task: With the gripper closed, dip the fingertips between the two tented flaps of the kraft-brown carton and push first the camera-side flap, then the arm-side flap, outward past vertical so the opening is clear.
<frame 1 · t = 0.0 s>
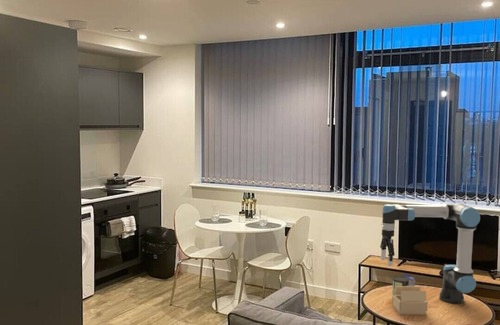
hand: (386, 262, 312), 28 cm above the table, fingers open, 13 cm apart
carton: (409, 311, 307), on the table
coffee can: (399, 300, 327), on the table
ink cartridge box: (406, 295, 335), on the table
flap near camera: (413, 301, 300), point 8 cm above the table, hinge at 70.0°
flap far: (406, 294, 312), point 8 cm above the table, hinge at 70.0°
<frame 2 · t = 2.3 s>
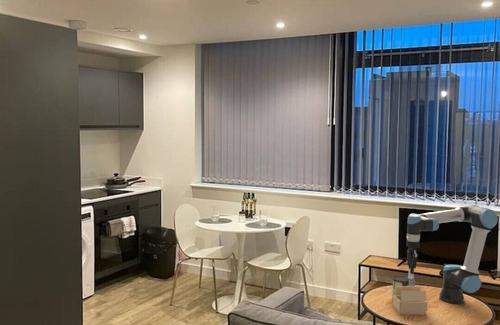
hand: (410, 278, 305), 21 cm above the table, fingers closed
nothing on the table moved.
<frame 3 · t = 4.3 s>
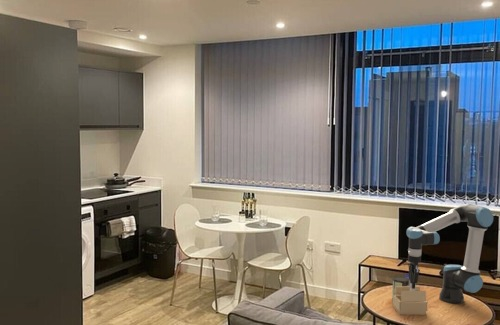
hand: (412, 293, 303), 13 cm above the table, fingers closed
flap near camera: (413, 301, 300), point 8 cm above the table, hinge at 70.7°, touching gripper
everything else where it was.
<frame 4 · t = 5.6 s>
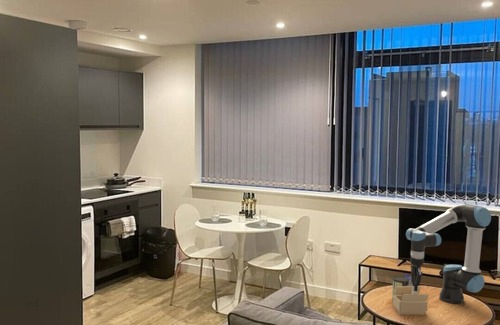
hand: (414, 295, 299), 12 cm above the table, fingers closed
flap near camera: (413, 301, 300), point 8 cm above the table, hinge at 119.4°, touching gripper
everything else where it was.
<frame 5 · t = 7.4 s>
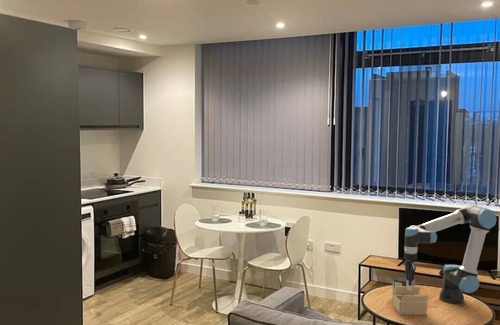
hand: (408, 290, 309), 12 cm above the table, fingers closed
flap near camera: (413, 301, 300), point 8 cm above the table, hinge at 128.3°
flap far: (406, 294, 312), point 8 cm above the table, hinge at 70.0°, touching gripper
everything else where it was.
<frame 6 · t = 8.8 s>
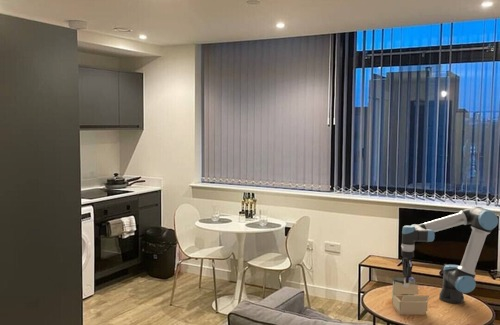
hand: (406, 287, 313), 12 cm above the table, fingers closed
flap far: (406, 294, 312), point 8 cm above the table, hinge at 116.4°, touching gripper
everything else where it was.
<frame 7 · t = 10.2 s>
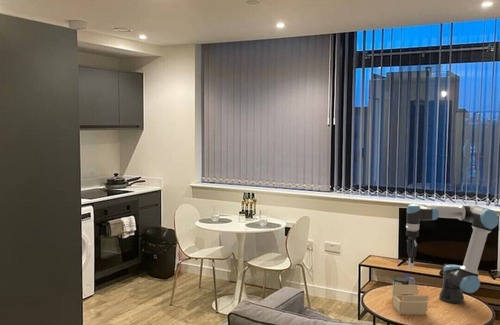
hand: (411, 267, 307), 27 cm above the table, fingers closed
flap far: (406, 294, 312), point 8 cm above the table, hinge at 125.5°
everything else where it was.
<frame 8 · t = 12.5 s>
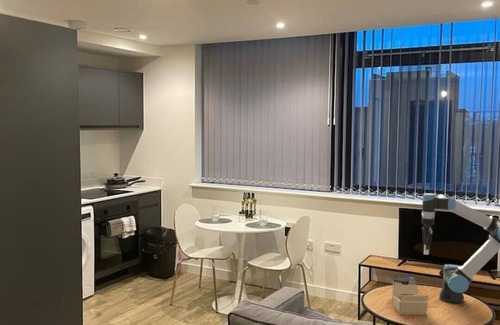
hand: (426, 254, 318), 32 cm above the table, fingers closed
flap far: (406, 294, 312), point 8 cm above the table, hinge at 126.0°
everything else where it was.
at the end: flap near camera at +128° (first picture: +70°); flap far at +126° (first picture: +70°) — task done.
